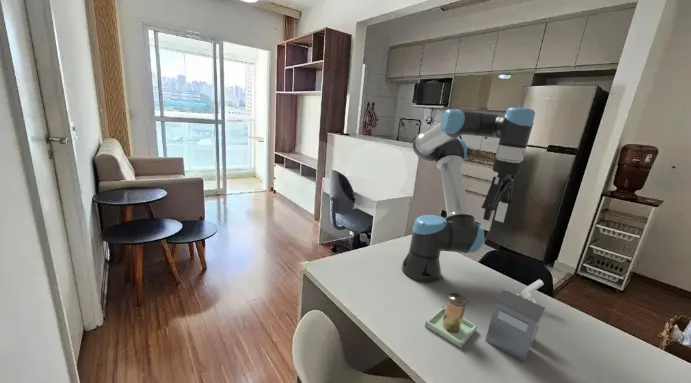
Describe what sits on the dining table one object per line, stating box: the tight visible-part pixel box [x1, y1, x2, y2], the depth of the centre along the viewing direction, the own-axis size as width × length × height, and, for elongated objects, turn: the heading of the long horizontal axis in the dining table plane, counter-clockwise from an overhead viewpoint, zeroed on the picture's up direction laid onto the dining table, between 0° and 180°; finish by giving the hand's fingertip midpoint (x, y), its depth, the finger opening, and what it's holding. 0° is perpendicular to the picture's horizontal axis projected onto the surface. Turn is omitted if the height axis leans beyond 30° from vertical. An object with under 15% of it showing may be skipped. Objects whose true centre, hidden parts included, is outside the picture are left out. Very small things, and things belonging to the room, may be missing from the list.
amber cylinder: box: [442, 292, 468, 333], centre depth 86 cm, size 5×5×10 cm
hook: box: [515, 278, 545, 304], centre depth 104 cm, size 8×12×7 cm
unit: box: [484, 289, 546, 364], centre depth 82 cm, size 11×8×14 cm
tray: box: [424, 306, 478, 350], centre depth 88 cm, size 11×11×2 cm
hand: (492, 225), depth 95 cm, fingers open, 13 cm apart
